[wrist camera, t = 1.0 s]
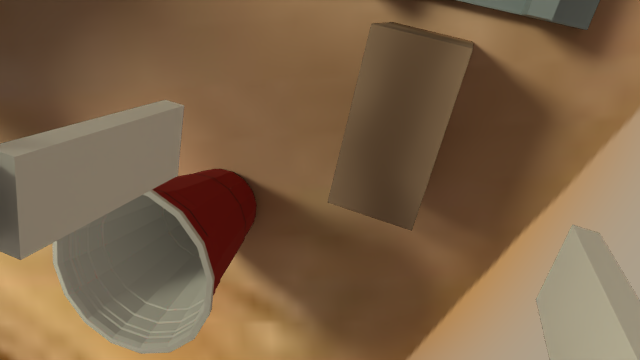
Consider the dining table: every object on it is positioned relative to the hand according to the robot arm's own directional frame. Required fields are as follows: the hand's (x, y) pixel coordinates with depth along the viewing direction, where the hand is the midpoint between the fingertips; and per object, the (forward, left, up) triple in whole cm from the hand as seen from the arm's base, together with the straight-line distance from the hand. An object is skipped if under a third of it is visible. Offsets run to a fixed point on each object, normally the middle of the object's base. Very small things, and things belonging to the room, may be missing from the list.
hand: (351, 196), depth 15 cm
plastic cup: (-12, -11, -17) cm, 23 cm away
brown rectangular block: (0, 0, -17) cm, 17 cm away
